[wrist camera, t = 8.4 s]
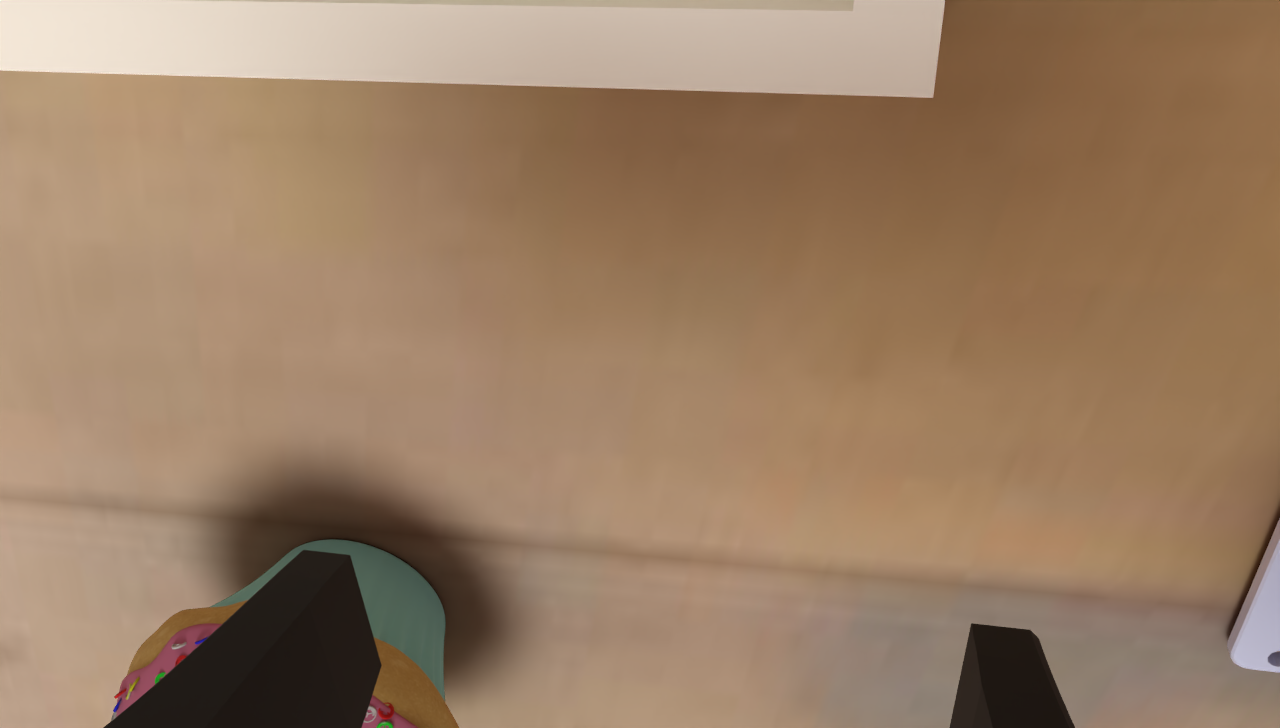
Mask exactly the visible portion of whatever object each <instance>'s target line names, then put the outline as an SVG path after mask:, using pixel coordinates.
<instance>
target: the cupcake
mask: <svg viewBox="0 0 1280 728" xmlns="http://www.w3.org/2000/svg"><path fill="white" fill-rule="evenodd" d="M303 550H310V551H319V552H328V553H337V554H346V555H350V556H351V559H352V563H353V566H354V570H355V573H356V577H357V580H358V584H359V588H360V591H361V595H362V598H363V602H364V605H365V609H366V612H367V616H368V619H369V623H370V626H371V630H372V633H373V637H374V640H375V644H376V647H377V651H378V654H379V658H380V661H381V665H382V666H381V669H380V672H379V675H378V679H377V682H376V685H375V688H374V691H373V695H372V698H371V701H370V704H369V707H368V710H367V713H366V716H365V719H364V722H363V725H362V728H459V727H458V725H457V723H456V721H455V719H454V717H453V715H452V714H451V712H450V710H449V708H448V707H447V705H446V703H445V693H444V667H443V660H444V637H445V626H446V620H445V614H444V610H443V606H442V604H441V601H440V599H439V597H438V596H437V594H436V592H435V591H434V589H433V588H432V587H431V586H430V584H429V583H428V582H427V581H426V580H425V579H424V578H423V577H422V576H421V575H420V574H419V573H418V572H417V571H416V570H415V569H413V568H412V567H411V566H409V565H408V564H407V563H405V562H404V561H402V560H400V559H399V558H397V557H395V556H393V555H391V554H390V553H387V552H385V551H383V550H381V549H378V548H375V547H373V546H370V545H366V544H363V543H359V542H354V541H348V540H336V539H330V540H318V541H313V542H309V543H306V544H303V545H301V546H298V547H296V548H295V549H293V550H292V551H290V552H289V553H287V554H286V555H285V556H284V557H283V558H282V559H281V560H280V561H278V562H277V563H276V564H275V565H274V566H273V567H271V568H270V569H269V570H268V571H267V572H266V573H264V574H263V575H262V576H260V577H259V578H258V579H256V580H255V581H254V582H252V583H251V584H249V585H248V586H246V587H245V588H243V589H242V590H240V591H238V592H237V593H235V594H233V595H232V596H230V597H228V598H226V599H224V600H223V601H221V602H219V603H217V604H215V605H213V606H211V607H209V608H198V609H187V610H183V611H180V612H178V613H176V614H174V615H173V616H172V617H170V618H169V619H168V620H167V621H166V622H165V623H164V624H163V625H162V626H161V627H160V628H159V629H158V630H157V631H156V632H155V633H154V634H153V635H151V636H150V637H149V638H148V639H147V640H146V641H145V642H144V643H143V644H142V645H141V647H140V648H139V649H138V651H137V653H136V654H135V656H134V658H133V660H132V662H131V665H130V667H129V670H128V674H127V676H126V677H125V678H124V680H123V681H122V684H121V687H120V690H119V693H118V694H117V695H116V696H115V698H118V700H117V705H116V706H115V708H114V710H113V711H114V714H113V716H112V719H111V721H112V720H113V719H115V718H116V717H117V716H118V715H119V714H121V713H122V712H123V711H124V710H126V709H127V708H128V707H129V706H130V705H132V704H133V703H134V702H135V701H136V700H138V699H139V698H140V697H141V696H142V695H143V694H145V693H146V692H147V691H148V690H149V689H150V688H152V687H153V686H154V685H155V684H156V683H157V682H158V681H160V680H161V679H162V678H163V677H164V676H165V675H166V674H167V673H169V672H170V671H171V670H172V669H173V668H174V667H175V666H176V665H177V664H179V663H180V662H181V661H182V660H183V659H184V658H185V657H186V656H188V655H189V654H190V653H191V652H192V651H193V650H194V649H195V648H197V647H198V646H199V645H200V644H201V643H202V642H203V641H204V640H205V639H207V638H208V637H209V636H210V635H211V634H212V633H213V632H214V631H215V630H216V629H217V628H219V627H220V626H221V625H222V624H223V623H224V622H225V621H226V620H227V619H228V618H229V617H230V616H232V615H233V614H234V613H235V612H236V611H237V610H238V609H239V608H240V607H241V606H242V605H243V604H244V603H246V602H247V601H248V600H249V599H250V598H251V597H252V596H253V595H254V594H255V593H256V592H257V591H258V590H260V589H261V588H262V587H263V586H264V585H265V584H266V583H267V582H268V581H269V580H270V579H271V578H272V577H274V576H275V575H276V574H277V573H278V572H279V571H280V570H281V569H282V568H283V567H285V566H286V565H287V564H288V563H289V562H290V561H291V560H292V559H293V558H295V557H296V556H297V555H298V554H299V553H300V552H301V551H303Z"/></svg>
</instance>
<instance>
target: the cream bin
mask: <svg viewBox="0 0 1280 728" xmlns="http://www.w3.org/2000/svg"><path fill="white" fill-rule="evenodd" d="M944 5H945V0H0V70H4V71H38V72H72V73H106V74H140V75H174V76H208V77H242V78H277V79H311V80H345V81H379V82H413V83H447V84H481V85H515V86H549V87H583V88H618V89H652V90H686V91H720V92H754V93H788V94H822V95H856V96H890V97H924V98H933V95H934V86H935V78H936V70H937V62H938V54H939V46H940V38H941V30H942V22H943V13H944Z"/></svg>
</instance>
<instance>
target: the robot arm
mask: <svg viewBox="0 0 1280 728" xmlns="http://www.w3.org/2000/svg"><path fill="white" fill-rule="evenodd" d="M1227 647H1228V651H1229V654H1230V657H1231V659H1232V660H1233V662H1234V663H1235V664H1237V665H1238V666H1240V667H1243V668H1247V669H1253V670H1262V671H1271V672H1280V652H1277V651H1280V519H1279V521H1278V523H1277V526H1276V528H1275V530H1274V533H1273V535H1272V538H1271V540H1270V542H1269V545H1268V547H1267V549H1266V552H1265V554H1264V556H1263V559H1262V561H1261V564H1260V566H1259V568H1258V571H1257V573H1256V575H1255V578H1254V580H1253V582H1252V585H1251V587H1250V589H1249V592H1248V594H1247V597H1246V599H1245V601H1244V604H1243V606H1242V608H1241V611H1240V613H1239V615H1238V618H1237V620H1236V623H1235V625H1234V627H1233V630H1232V632H1231V634H1230V637H1229V639H1228V644H1227ZM381 666H382V665H381V661H380V658H379V654H378V651H377V647H376V644H375V640H374V637H373V633H372V630H371V626H370V623H369V619H368V616H367V612H366V609H365V605H364V602H363V598H362V595H361V591H360V588H359V584H358V580H357V577H356V573H355V570H354V566H353V563H352V559H351V556H350V555H346V554H337V553H328V552H319V551H310V550H303V551H301V552H300V553H299V554H298V555H297V556H296V557H295V558H293V559H292V560H291V561H290V562H289V563H288V564H287V565H286V566H285V567H283V568H282V569H281V570H280V571H279V572H278V573H277V574H276V575H275V576H274V577H272V578H271V579H270V580H269V581H268V582H267V583H266V584H265V585H264V586H263V587H262V588H261V589H260V590H258V591H257V592H256V593H255V594H254V595H253V596H252V597H251V598H250V599H249V600H248V601H247V602H246V603H244V604H243V605H242V606H241V607H240V608H239V609H238V610H237V611H236V612H235V613H234V614H233V615H232V616H230V617H229V618H228V619H227V620H226V621H225V622H224V623H223V624H222V625H221V626H220V627H219V628H217V629H216V630H215V631H214V632H213V633H212V634H211V635H210V636H209V637H208V638H207V639H205V640H204V641H203V642H202V643H201V644H200V645H199V646H198V647H197V648H195V649H194V650H193V651H192V652H191V653H190V654H189V655H188V656H186V657H185V658H184V659H183V660H182V661H181V662H180V663H179V664H177V665H176V666H175V667H174V668H173V669H172V670H171V671H170V672H169V673H167V674H166V675H165V676H164V677H163V678H162V679H161V680H160V681H158V682H157V683H156V684H155V685H154V686H153V687H152V688H150V689H149V690H148V691H147V692H146V693H145V694H143V695H142V696H141V697H140V698H139V699H138V700H136V701H135V702H134V703H133V704H132V705H130V706H129V707H128V708H127V709H126V710H124V711H123V712H122V713H121V714H119V715H118V716H117V717H116V718H115V719H113V720H112V721H111V722H110V723H109V724H107V725H106V726H105V727H104V728H362V725H363V722H364V719H365V716H366V713H367V710H368V707H369V704H370V701H371V698H372V695H373V691H374V688H375V685H376V682H377V679H378V675H379V672H380V669H381ZM950 728H1075V726H1074V724H1073V722H1072V720H1071V718H1070V716H1069V713H1068V711H1067V709H1066V706H1065V704H1064V702H1063V700H1062V697H1061V695H1060V693H1059V690H1058V688H1057V685H1056V683H1055V680H1054V678H1053V675H1052V673H1051V670H1050V668H1049V665H1048V663H1047V660H1046V658H1045V655H1044V652H1043V649H1042V647H1041V644H1040V641H1039V638H1038V637H1037V636H1036V635H1035V634H1034V633H1033V632H1032V631H1031V630H1025V629H1016V628H1007V627H998V626H989V625H980V624H971V628H970V632H969V637H968V642H967V647H966V652H965V656H964V661H963V666H962V671H961V676H960V681H959V685H958V690H957V695H956V700H955V705H954V709H953V714H952V719H951V724H950Z"/></svg>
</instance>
